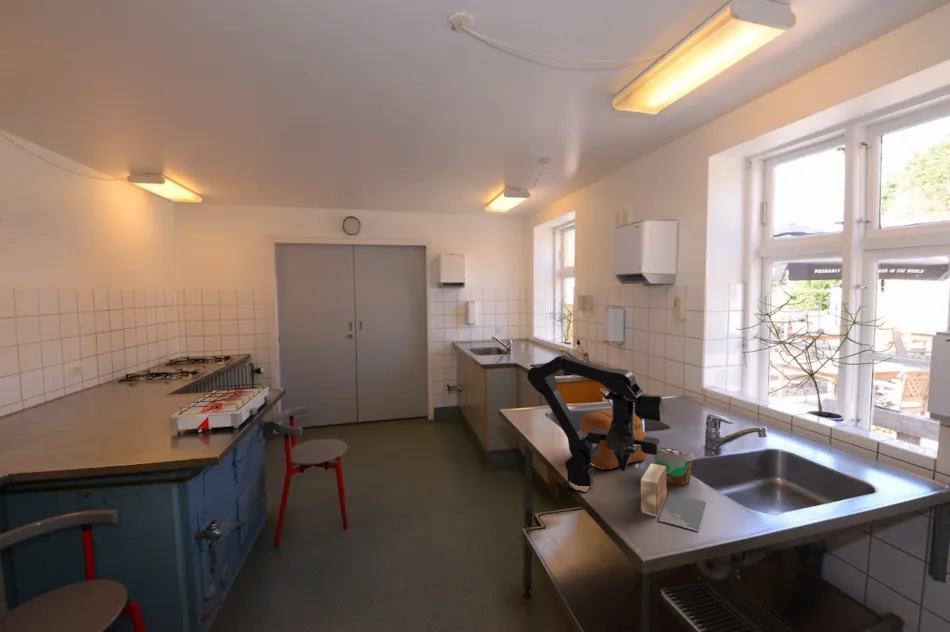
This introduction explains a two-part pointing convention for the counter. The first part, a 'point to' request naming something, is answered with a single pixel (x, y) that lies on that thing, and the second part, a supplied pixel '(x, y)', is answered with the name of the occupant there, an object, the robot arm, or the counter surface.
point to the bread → (603, 421)
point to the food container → (675, 466)
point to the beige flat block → (653, 488)
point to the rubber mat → (686, 509)
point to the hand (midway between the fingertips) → (623, 470)
